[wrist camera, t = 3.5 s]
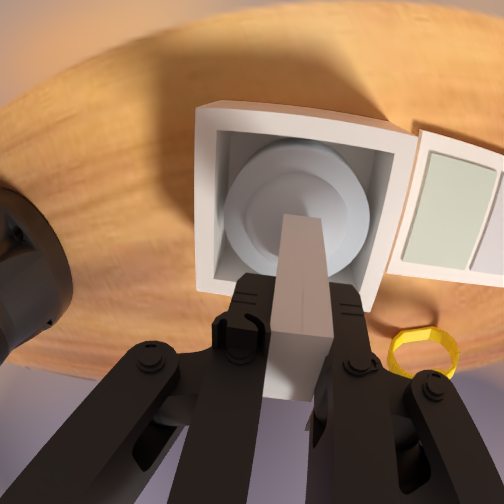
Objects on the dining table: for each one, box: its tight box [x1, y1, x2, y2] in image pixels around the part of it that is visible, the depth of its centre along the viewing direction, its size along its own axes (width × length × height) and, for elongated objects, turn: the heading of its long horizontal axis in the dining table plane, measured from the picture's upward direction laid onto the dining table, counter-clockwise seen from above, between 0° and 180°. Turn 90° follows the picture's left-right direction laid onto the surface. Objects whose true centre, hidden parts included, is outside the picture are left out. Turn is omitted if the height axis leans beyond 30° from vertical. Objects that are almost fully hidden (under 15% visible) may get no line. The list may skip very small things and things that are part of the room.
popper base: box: [194, 100, 418, 312], centre depth 18 cm, size 10×10×5 cm
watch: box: [387, 326, 460, 379], centre depth 22 cm, size 6×3×6 cm, turn 101°
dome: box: [224, 138, 370, 277], centre depth 16 cm, size 7×7×5 cm
